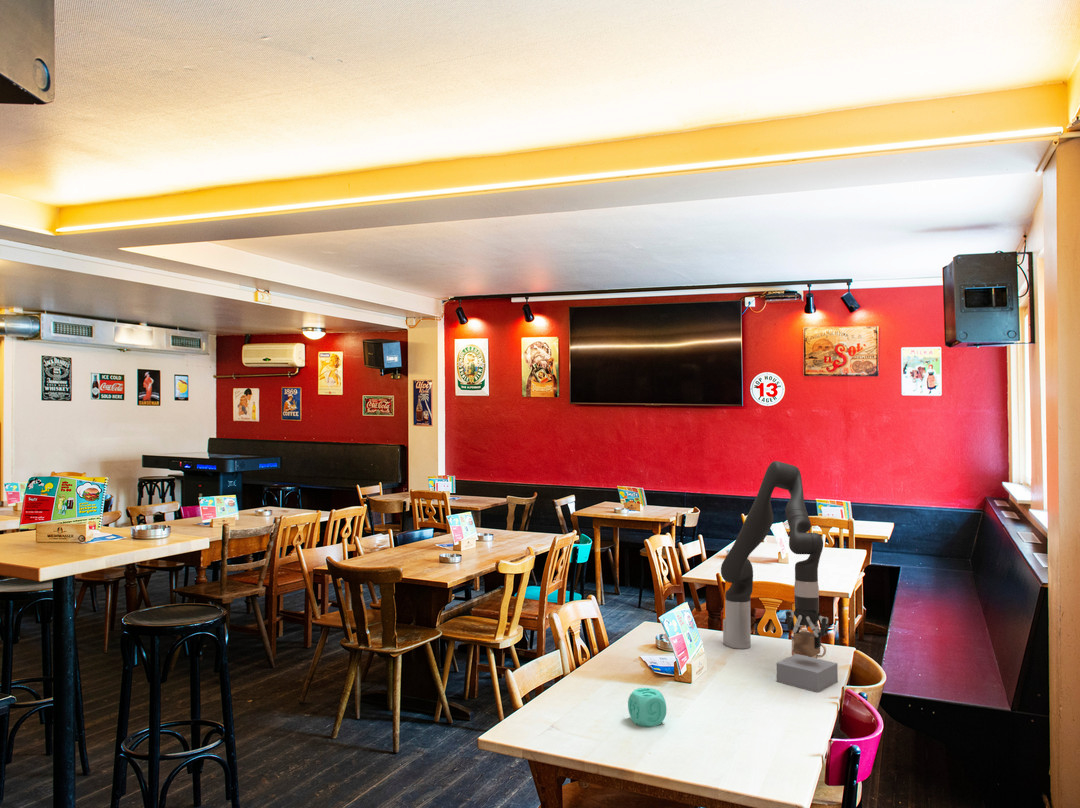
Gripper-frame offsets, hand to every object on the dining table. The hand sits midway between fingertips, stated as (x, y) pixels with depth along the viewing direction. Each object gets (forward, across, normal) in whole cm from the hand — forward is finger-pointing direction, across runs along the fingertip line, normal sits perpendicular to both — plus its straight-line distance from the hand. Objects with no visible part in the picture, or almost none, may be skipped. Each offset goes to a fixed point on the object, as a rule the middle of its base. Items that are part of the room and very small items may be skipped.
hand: (807, 646), depth 240 cm
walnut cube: (+2, 0, 0) cm, 2 cm away
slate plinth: (+11, 0, 0) cm, 11 cm away
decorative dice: (+12, -16, -64) cm, 67 cm away
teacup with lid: (+12, -9, +20) cm, 25 cm away
